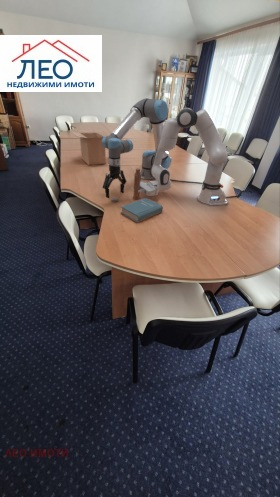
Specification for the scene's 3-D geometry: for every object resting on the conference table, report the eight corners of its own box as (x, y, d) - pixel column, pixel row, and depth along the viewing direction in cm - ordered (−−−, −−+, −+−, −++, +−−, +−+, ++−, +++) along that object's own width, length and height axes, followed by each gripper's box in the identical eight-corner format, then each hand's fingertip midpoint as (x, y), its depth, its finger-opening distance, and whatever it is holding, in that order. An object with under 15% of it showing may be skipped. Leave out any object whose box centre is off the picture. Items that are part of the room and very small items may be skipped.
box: (116, 165, 229) (116, 136, 213) (83, 168, 214) (80, 137, 198) (102, 154, 259) (101, 128, 243) (71, 156, 244) (68, 129, 228)
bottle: (134, 199, 164) (136, 170, 151) (132, 196, 168) (133, 168, 155) (140, 198, 166) (142, 169, 153) (138, 196, 169) (139, 167, 156)
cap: (118, 201, 160) (118, 199, 159) (113, 202, 158) (113, 200, 157) (116, 199, 162) (116, 197, 161) (110, 200, 160) (110, 198, 159)
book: (145, 204, 158) (145, 197, 155) (162, 212, 149) (163, 206, 146) (121, 213, 145) (121, 206, 142) (138, 223, 136) (138, 216, 133)
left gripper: (103, 169, 135) (104, 201, 148) (132, 162, 151) (131, 192, 163) (95, 166, 139) (97, 198, 152) (124, 160, 154) (124, 189, 167)
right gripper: (145, 178, 173) (129, 180, 168) (159, 187, 159) (142, 190, 154) (144, 186, 177) (129, 188, 171) (158, 196, 163) (142, 198, 157)
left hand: (115, 195), depth 158 cm, fingers open, 13 cm apart
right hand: (135, 189), depth 162 cm, fingers closed on bottle, 5 cm apart
